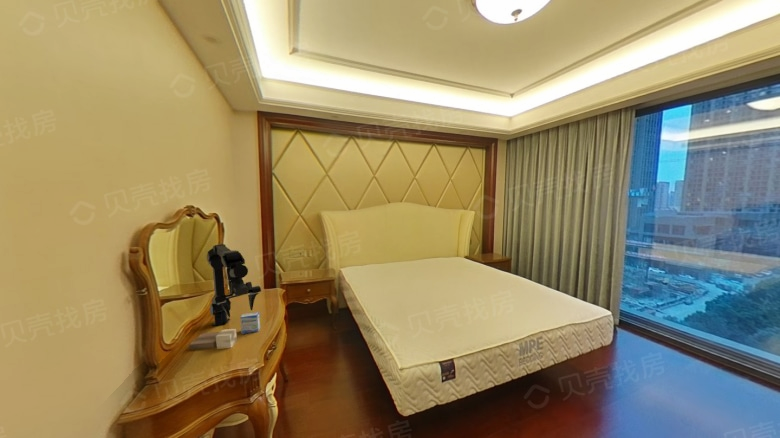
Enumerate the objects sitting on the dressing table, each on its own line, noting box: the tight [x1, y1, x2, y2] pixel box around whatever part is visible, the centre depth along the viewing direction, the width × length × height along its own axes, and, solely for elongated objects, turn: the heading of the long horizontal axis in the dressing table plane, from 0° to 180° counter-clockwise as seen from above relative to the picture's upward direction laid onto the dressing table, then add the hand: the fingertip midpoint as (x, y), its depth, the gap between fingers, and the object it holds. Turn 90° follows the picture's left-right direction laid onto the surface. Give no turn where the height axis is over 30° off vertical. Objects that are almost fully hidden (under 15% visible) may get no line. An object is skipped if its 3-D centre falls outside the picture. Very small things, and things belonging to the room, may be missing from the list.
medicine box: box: [240, 311, 261, 335], centre depth 140 cm, size 8×4×9 cm, turn 105°
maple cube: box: [216, 328, 238, 350], centre depth 127 cm, size 6×6×6 cm
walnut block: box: [188, 331, 221, 351], centre depth 130 cm, size 10×10×3 cm
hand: (240, 313), depth 125 cm, fingers open, 9 cm apart
